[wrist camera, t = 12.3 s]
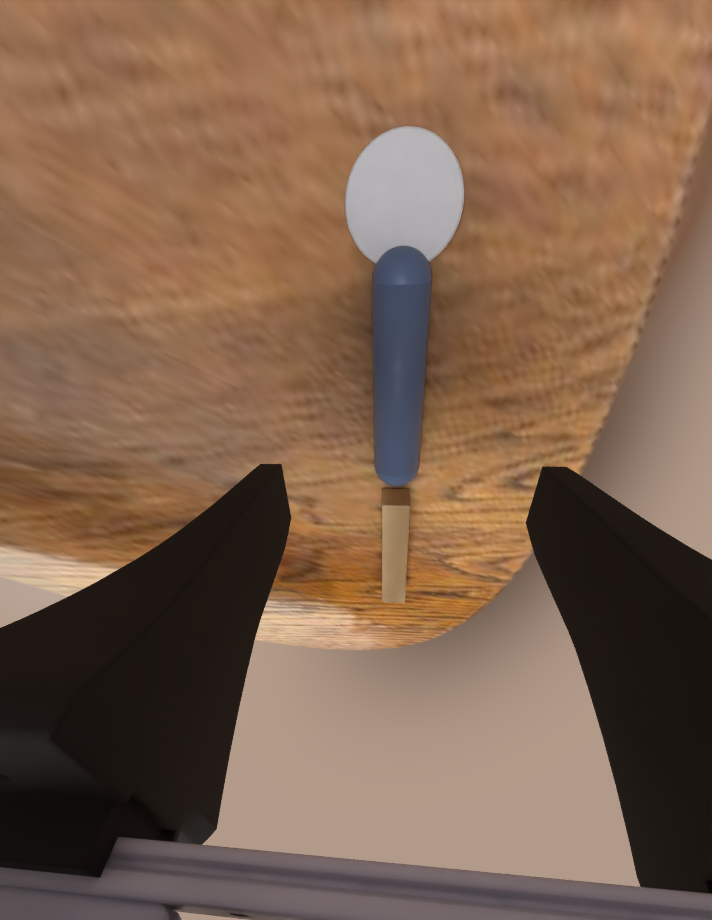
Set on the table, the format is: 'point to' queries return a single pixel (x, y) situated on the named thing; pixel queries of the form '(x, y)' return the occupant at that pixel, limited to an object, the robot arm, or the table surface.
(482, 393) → the table surface
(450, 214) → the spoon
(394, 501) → the baton
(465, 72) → the table surface
